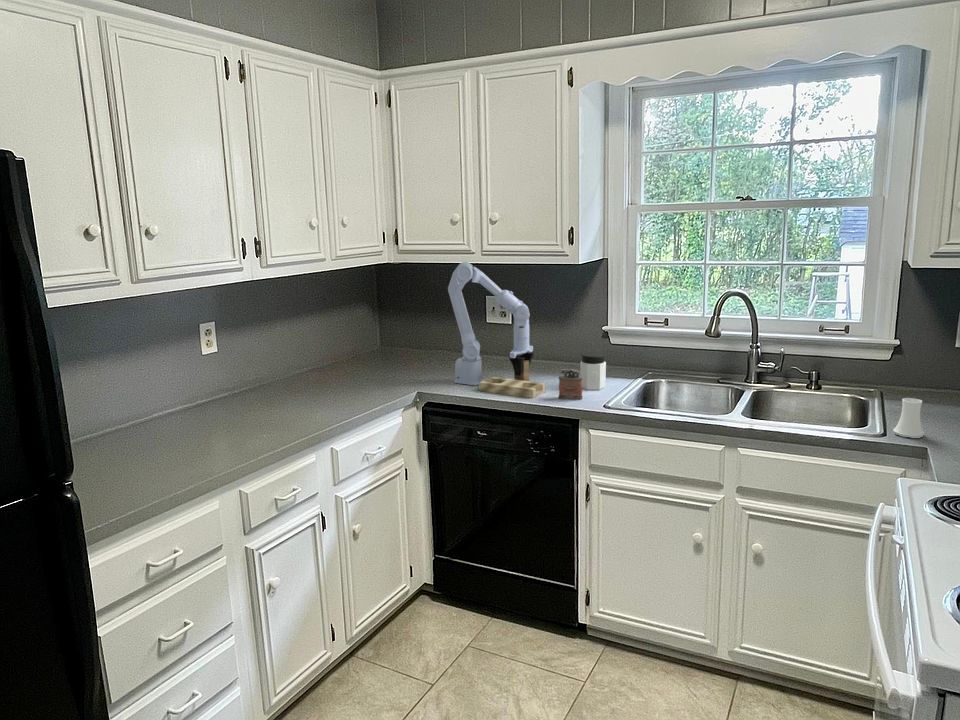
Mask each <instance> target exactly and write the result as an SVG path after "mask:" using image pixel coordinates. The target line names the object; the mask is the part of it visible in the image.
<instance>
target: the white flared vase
mask: <svg viewBox="0 0 960 720" xmlns="http://www.w3.org/2000/svg"><path fill="white" fill-rule="evenodd" d="M901 401H902V406H901V407H902V408H901V413H900V417H899V420H898V422H897V424H896V426H895V427H894V428H893V429H892V430H893V431H894V432H896V433H899V434H902V435H908V436H922V435H924V436H925V432H924V430H923V427H922V424H921V411H922V410H921V409H922V408H921V407H922V404H923V400H922V399H918V398H915V397H913V398H912V397H904V398H902V399H901ZM893 431H892V432H893ZM923 433H924V434H923Z"/></svg>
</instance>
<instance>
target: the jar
mask: <svg viewBox="0 0 960 720" xmlns="http://www.w3.org/2000/svg"><path fill="white" fill-rule="evenodd" d="M605 356H606V354H605V353H603V352H599V351H598V352H597V351H596V352H595V351H592V352H590V351H589V352H583V353H582V354H581V361H580V365H579V366H580V370H579V376H581V377H583V380H582V389H584V390H587V391H600V390H602V389H605V388H606V382H607V381H606V380H607V378H606V373H607V372H606V371H607V362H606V360H605V359H606V357H605Z"/></svg>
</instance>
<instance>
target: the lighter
mask: <svg viewBox="0 0 960 720" xmlns="http://www.w3.org/2000/svg"><path fill="white" fill-rule="evenodd" d="M560 374H564V375H558V382H559V383H558V384H559V385H558V387H559V388H558V390H559V392H558V399H560V400H570V401H572V400H573V401H575V400H576V401H581V400H583V388H582V380H583V377H581V376H580V370H575V369H573V368H571V369H562V368H561V369H560Z"/></svg>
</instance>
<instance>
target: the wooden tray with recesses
mask: <svg viewBox="0 0 960 720" xmlns="http://www.w3.org/2000/svg"><path fill="white" fill-rule="evenodd" d="M478 391H480V392H485V391H486V393H495V394H500V393H501V395H510V396H515V397H521V396H522V397H523V398H528V397H529V399H535V398H536V397H538V396H540V395H542V394H543V393H546V383H545V382H537V381H530V380H529V381H523V380H515V379H514V378H513V379H512V378H506V377H497V376H490V377H488V378H486V379H484V380H483V381H481V382H479V384H478ZM522 397H521V398H522Z"/></svg>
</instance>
